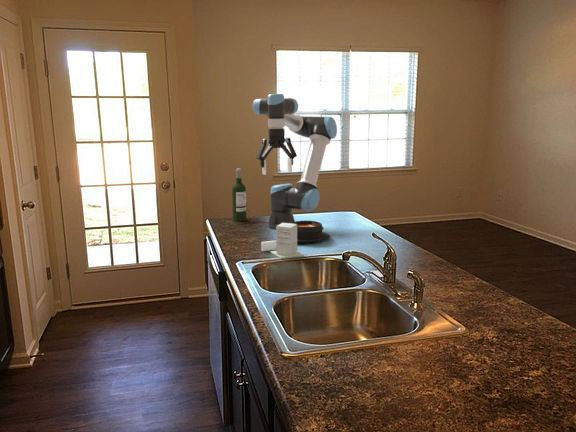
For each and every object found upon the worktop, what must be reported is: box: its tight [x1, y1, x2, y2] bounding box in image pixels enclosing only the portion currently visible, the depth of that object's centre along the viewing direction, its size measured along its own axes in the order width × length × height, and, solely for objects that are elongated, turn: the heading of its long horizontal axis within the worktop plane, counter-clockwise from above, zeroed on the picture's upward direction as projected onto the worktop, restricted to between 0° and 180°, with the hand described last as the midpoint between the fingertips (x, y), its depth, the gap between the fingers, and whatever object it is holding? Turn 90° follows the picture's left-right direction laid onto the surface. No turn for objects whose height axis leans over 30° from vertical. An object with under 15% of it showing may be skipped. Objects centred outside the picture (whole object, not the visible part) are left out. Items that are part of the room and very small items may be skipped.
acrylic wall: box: [260, 240, 276, 252], centre depth 220 cm, size 16×1×4 cm, turn 116°
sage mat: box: [269, 250, 304, 260], centre depth 212 cm, size 11×11×1 cm
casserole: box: [291, 220, 332, 244], centre depth 235 cm, size 25×19×8 cm
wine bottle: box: [231, 167, 247, 222], centre depth 277 cm, size 8×8×30 cm
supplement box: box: [275, 223, 298, 255], centre depth 211 cm, size 7×7×13 cm
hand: (277, 173), depth 229 cm, fingers open, 13 cm apart
